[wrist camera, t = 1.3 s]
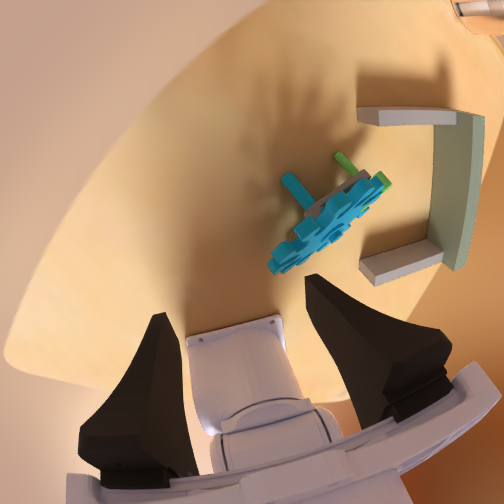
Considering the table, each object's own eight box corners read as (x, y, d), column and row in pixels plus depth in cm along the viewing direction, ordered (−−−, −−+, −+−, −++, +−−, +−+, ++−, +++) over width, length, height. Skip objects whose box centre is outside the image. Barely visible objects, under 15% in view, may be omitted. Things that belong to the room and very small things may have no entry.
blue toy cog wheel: (279, 288, 25) (277, 269, 15) (240, 233, 26) (215, 184, 16) (376, 216, 25) (419, 162, 15) (336, 168, 27) (356, 99, 17)
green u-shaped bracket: (359, 269, 28) (385, 299, 24) (356, 107, 20) (395, 113, 16) (436, 244, 29) (465, 266, 25) (446, 107, 21) (484, 116, 17)
